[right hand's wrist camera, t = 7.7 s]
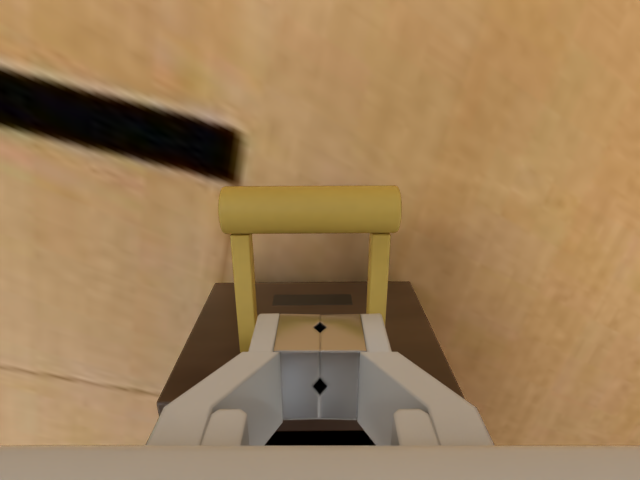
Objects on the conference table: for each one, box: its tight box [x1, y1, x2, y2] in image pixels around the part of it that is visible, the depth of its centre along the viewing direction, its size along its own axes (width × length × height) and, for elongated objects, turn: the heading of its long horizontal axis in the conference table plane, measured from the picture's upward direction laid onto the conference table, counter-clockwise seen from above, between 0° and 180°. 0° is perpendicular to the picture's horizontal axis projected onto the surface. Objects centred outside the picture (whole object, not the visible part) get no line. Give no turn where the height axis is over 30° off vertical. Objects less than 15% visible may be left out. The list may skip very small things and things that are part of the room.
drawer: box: [157, 186, 465, 446], centre depth 18 cm, size 22×9×8 cm, turn 0°
